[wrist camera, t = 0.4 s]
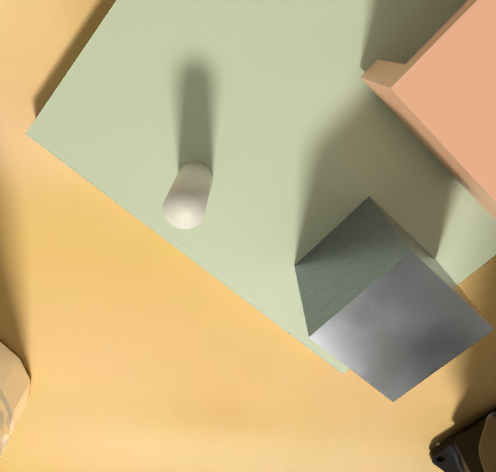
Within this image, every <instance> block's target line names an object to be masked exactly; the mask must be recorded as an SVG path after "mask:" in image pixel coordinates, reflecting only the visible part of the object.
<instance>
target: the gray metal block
mask: <svg viewBox="0 0 496 472" xmlns="http://www.w3.org/2000/svg"><path fill="white" fill-rule="evenodd" d="M294 267H295V272H296V277H297V282H298V287H299V292H300V297H301V301H302V306H303V311H304V316H305V321H306V326H307V331H308V336H309V338H311V339H312V340H313V341H314V342H316V343H317V344H318V345H320V346H321V347H322V348H324V349H325V350H326V351H327V352H329V353H330V354H331V355H333V356H334V357H335V358H337V359H338V360H339V361H340V362H342V363H343V364H344V365H346V366H347V367H348V368H350V369H351V370H352V371H354V372H355V373H356V374H357V375H359V376H360V377H361V378H363V379H364V380H365V381H367V382H368V383H369V384H370V385H372V386H373V387H374V388H376V389H377V390H378V391H380V392H381V393H382V394H383V395H385V396H386V397H387V398H389V399H390V400H391V401H393V402H394V401H395V400H397V399H398V398H399V397H401V396H402V395H404V394H405V393H406V392H408V391H409V390H410V389H412V388H413V387H415V386H416V385H417V384H419V383H420V382H422V381H423V380H424V379H426V378H427V377H429V376H430V375H431V374H433V373H434V372H436V371H437V370H438V369H440V368H441V367H443V366H444V365H445V364H447V363H448V362H450V361H451V360H452V359H454V358H455V357H457V356H458V355H459V354H461V353H462V352H463V351H465V350H466V349H468V348H469V347H470V346H472V345H473V344H475V343H476V342H477V341H479V340H480V339H482V338H483V337H484V336H486V335H487V334H489V333H490V332H491V331H493V330H494V328H493V327H492V325H491V324H490V323H489V322H488V321H487V319H486V318H485V317H484V316H483V315H482V314H481V312H480V311H479V310H478V309H477V308H476V306H475V305H474V304H473V303H472V302H471V301H470V299H469V298H468V297H467V296H466V295H465V293H464V292H463V291H462V290H461V289H460V287H459V286H458V285H457V284H456V283H455V282H454V280H453V279H452V278H451V277H450V276H449V274H448V273H447V272H446V271H445V270H444V269H443V267H442V266H441V265H440V264H439V263H438V261H437V260H436V259H435V258H434V257H433V256H432V255H431V254H430V253H429V252H428V251H426V250H425V249H424V248H423V247H422V246H421V245H420V244H419V243H418V242H417V241H416V240H415V239H414V238H413V237H412V236H411V235H410V234H409V233H408V232H407V231H405V230H404V229H403V228H402V227H401V226H400V225H399V224H398V223H397V222H396V221H395V220H394V219H393V218H392V217H391V216H390V215H389V214H388V213H387V212H386V211H385V210H383V209H382V208H381V207H380V206H379V205H378V204H377V203H376V202H375V201H374V200H373V199H372V198H371V197H370V196H369V197H368V198H367V199H365V200H364V201H363V202H362V203H361V204H360V205H359V206H358V207H357V208H356V209H355V210H354V211H353V212H351V213H350V214H349V215H348V216H347V217H346V218H345V219H344V220H343V221H342V222H341V223H340V224H339V225H338V226H336V227H335V228H334V229H333V230H332V231H331V232H330V233H329V234H328V235H327V236H326V237H325V238H324V239H322V240H321V241H320V242H319V243H318V244H317V245H316V246H315V247H314V248H313V249H312V250H311V251H310V252H308V253H307V254H306V255H305V256H304V257H303V258H302V259H301V260H300V261H299V262H298V263H297V264H296V265H294Z"/></svg>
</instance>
